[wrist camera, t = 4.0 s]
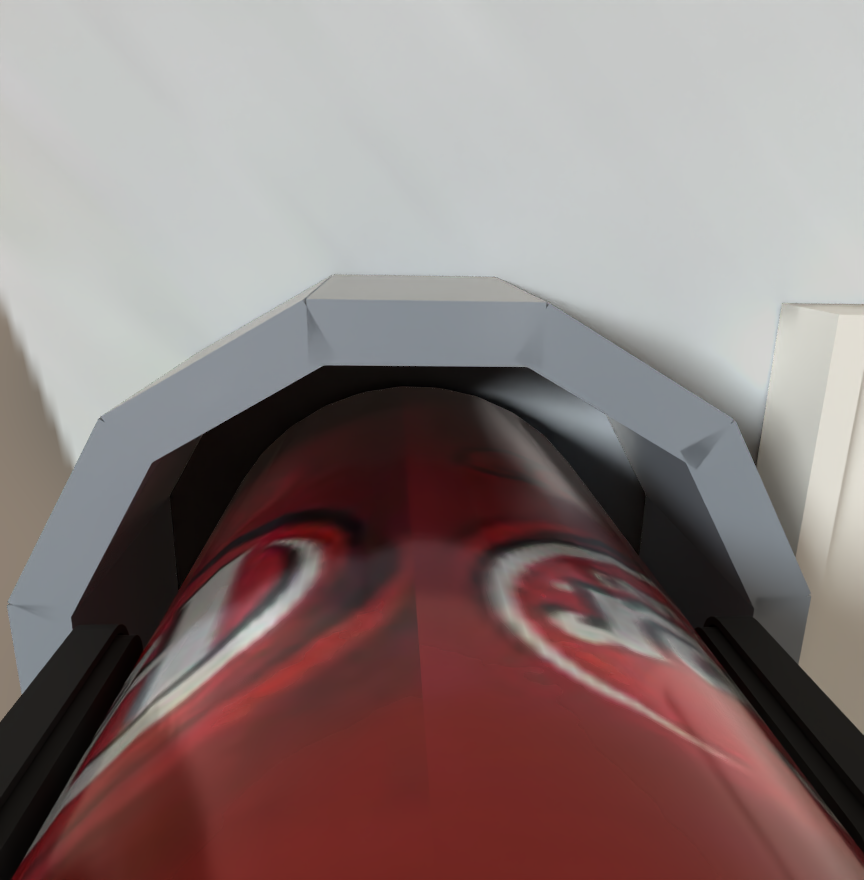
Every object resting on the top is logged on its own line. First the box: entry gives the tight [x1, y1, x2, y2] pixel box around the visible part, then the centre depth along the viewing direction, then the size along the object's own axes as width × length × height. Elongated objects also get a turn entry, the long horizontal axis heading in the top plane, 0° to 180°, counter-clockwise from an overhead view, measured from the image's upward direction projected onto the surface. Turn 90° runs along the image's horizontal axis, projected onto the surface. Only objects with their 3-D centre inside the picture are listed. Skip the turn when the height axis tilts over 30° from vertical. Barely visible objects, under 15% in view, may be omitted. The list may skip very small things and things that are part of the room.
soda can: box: [11, 386, 864, 880], centre depth 9 cm, size 7×7×12 cm
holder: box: [7, 274, 811, 694], centre depth 12 cm, size 11×11×4 cm
